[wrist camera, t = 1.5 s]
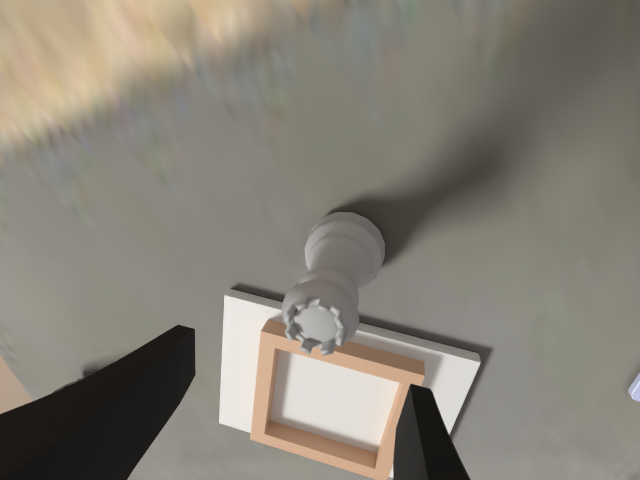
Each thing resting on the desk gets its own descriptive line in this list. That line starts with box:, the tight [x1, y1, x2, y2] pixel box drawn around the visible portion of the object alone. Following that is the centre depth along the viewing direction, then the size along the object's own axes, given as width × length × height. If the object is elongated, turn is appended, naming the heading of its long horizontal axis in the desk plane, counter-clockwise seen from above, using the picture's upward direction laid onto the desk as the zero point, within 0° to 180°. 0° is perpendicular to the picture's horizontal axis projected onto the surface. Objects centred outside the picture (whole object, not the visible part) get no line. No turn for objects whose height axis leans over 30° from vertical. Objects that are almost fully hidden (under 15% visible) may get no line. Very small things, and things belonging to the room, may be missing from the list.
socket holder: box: [219, 289, 481, 480], centre depth 25 cm, size 16×12×2 cm
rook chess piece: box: [282, 212, 385, 356], centre depth 18 cm, size 4×4×8 cm
